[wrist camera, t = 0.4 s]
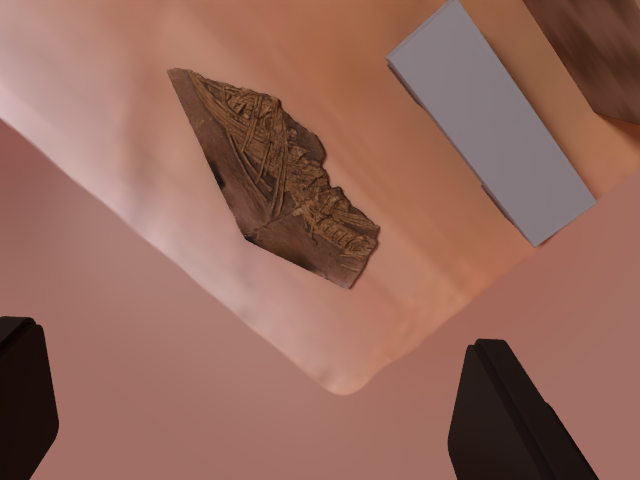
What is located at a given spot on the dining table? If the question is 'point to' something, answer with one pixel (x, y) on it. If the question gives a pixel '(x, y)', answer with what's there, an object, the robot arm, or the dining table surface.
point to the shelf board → (490, 123)
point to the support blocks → (421, 105)
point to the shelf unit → (597, 50)
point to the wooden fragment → (275, 179)
